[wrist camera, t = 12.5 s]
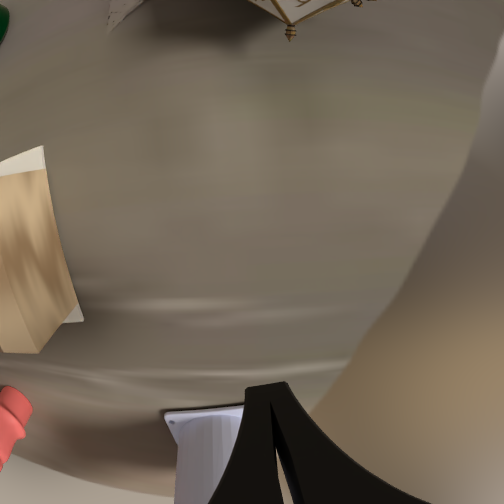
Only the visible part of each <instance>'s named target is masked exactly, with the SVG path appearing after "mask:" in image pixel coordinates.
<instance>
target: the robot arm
mask: <svg viewBox="0 0 504 504" xmlns="http://www.w3.org/2000/svg"><path fill="white" fill-rule="evenodd" d="M164 419H165V421H166V423H167V425H168V427H169V429H170V431H171V433H172V435H173V437H174V439H175V441H176V443H177V445H178V454H177V467H176V481H175V496H174V504H284V502H283V497H282V493H281V489H280V483H279V479H278V469H277V457H276V449H277V453H278V456H279V459H280V462H281V465H282V468H283V471H284V474H285V478H286V481H287V484H288V487H289V489H290V493H291V496H292V500H293V503H294V504H431V503H428V502H426V501H423V500H421V499H418V498H415V497H414V496H411V495H409V494H407V493H405V492H403V491H401V490H399V489H397V488H395V487H393V486H391V485H390V484H388V483H387V482H385V481H383V480H382V479H380V478H379V477H377V476H375V475H373V474H372V473H371V472H369V471H368V470H366V469H365V468H363V467H362V466H361V465H359V464H358V463H357V462H355V461H354V460H353V459H352V458H350V457H349V456H348V455H347V454H346V453H345V452H343V451H342V450H341V449H340V448H339V447H338V446H337V445H336V444H335V443H334V442H333V441H332V440H330V439H329V437H328V436H327V435H326V434H325V433H324V432H322V430H321V429H320V428H319V427H318V426H317V425H316V423H315V422H314V421H313V420H312V419H311V417H310V416H309V415H308V414H307V412H306V411H305V410H304V409H303V407H302V406H301V404H300V403H299V402H298V400H297V399H296V397H295V396H294V394H293V392H292V391H291V389H290V387H289V385H288V383H286V382H284V381H283V382H278V383H272V384H266V385H259V386H253V387H248V388H246V389H245V401H244V405H241V406H233V407H224V408H214V409H203V410H190V411H173V412H166V413H165V415H164ZM171 420H172V421H171Z"/></svg>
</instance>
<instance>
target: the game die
mask: <svg viewBox="0 0 504 504" xmlns="http://www.w3.org/2000/svg"><path fill="white" fill-rule="evenodd" d="M247 1H249V2H251V3H252V4H254V5H256V6H258V7H259V8H261V9H263V10H265V11H266V12H268V13H270V14H271V15H273V16H274V17H276V18H278V19H279V20H281V21H282V22H284V23H285V24H287V26H288V27H287V29H285V30H286V34H285V35H286V36H287V38H288V40H289V41H291V40H292V39H293V37H294V36H296V35H295V31H296V30H295V25H297V24H299V23H301V22H303V21H305V20H307V19H309V18H311V17H313V16H315V15H318V14H320V13H322V12H324V11H327V10H329V9H331V8H333V7H336V6H338V5H341V4H343V3H346V2H348V1H351V2H352V4H354V6H357V7H362V1H361V0H247ZM368 1H370V0H368ZM372 1H377V0H372Z"/></svg>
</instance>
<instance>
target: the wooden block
mask: <svg viewBox="0 0 504 504" xmlns="http://www.w3.org/2000/svg"><path fill="white" fill-rule="evenodd" d="M77 304H78V300H77V297H76V294H75V291H74V288H73V284H72V281H71V278H70V275H69V271H68V268H67V265H66V261H65V257H64V254H63V250H62V246H61V242H60V238H59V234H58V230H57V226H56V221H55V217H54V212H53V207H52V202H51V196H50V191H49V185H48V179H47V172H46V169H40V170H34V171H28V172H22V173H16V174H11V175H5V176H0V352H4V353H37V354H39V352H40V351H41V350H42V348H43V347H44V346H45V344H46V343H47V342H48V340H49V339H50V338H51V336H52V335H53V334H54V333H55V331H56V330H57V329H58V327H59V326H60V325H61V324H62V322H63V321H64V320H65V319H66V317H67V316H68V315H69V314H70V312H71V311H72V310H73V309H74V308H75V306H76V305H77Z"/></svg>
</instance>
